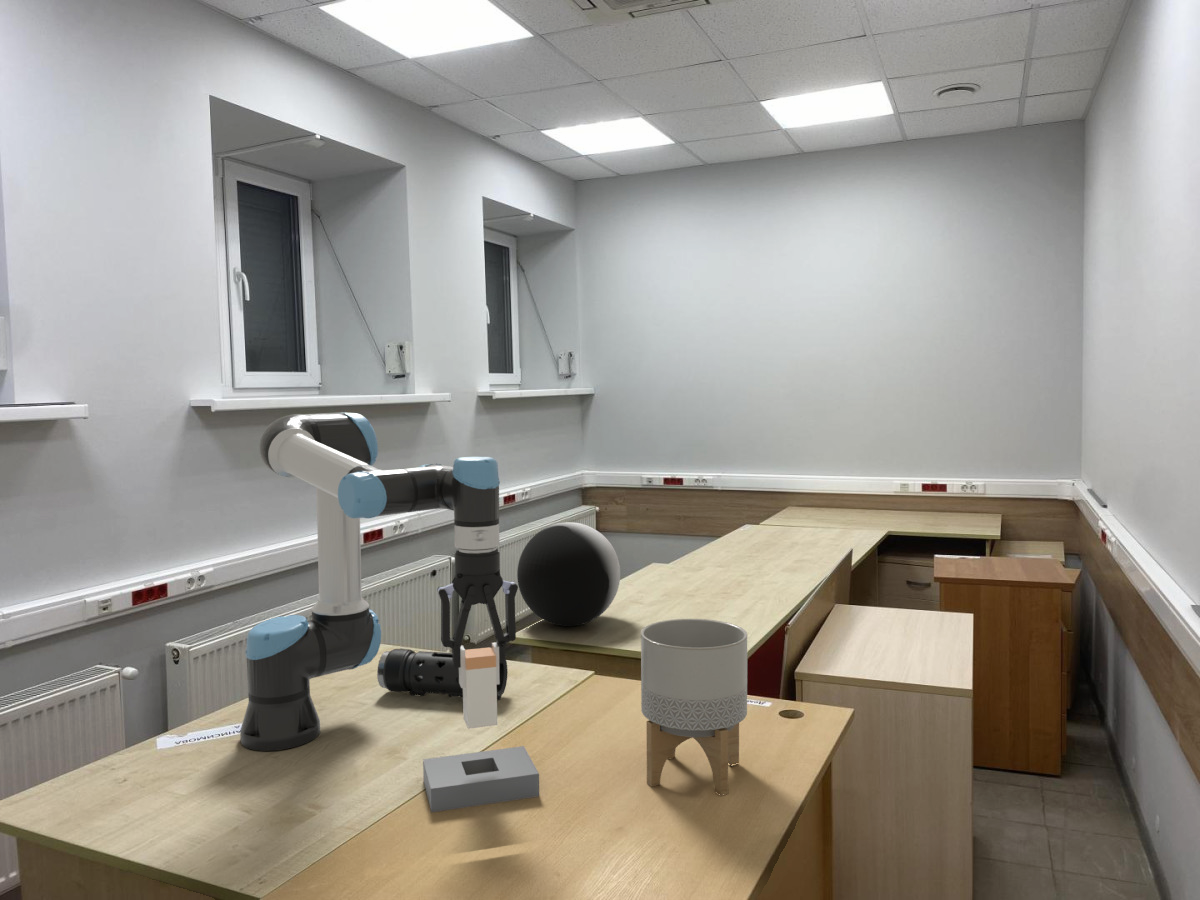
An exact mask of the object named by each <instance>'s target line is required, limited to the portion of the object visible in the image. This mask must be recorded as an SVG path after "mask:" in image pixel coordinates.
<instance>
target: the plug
mask: <svg viewBox="0 0 1200 900" xmlns="http://www.w3.org/2000/svg"><path fill="white" fill-rule="evenodd" d="M465 668H466V688H463V698H462V705H463V706H462V707H463V708H462V710H463V711H462V713H463V714H462V715H463V720H464V723H465V725H466V727H467V728H466V729H476V728H477V729H478V728H483V727H484V728H485V727H491V726H498V700H497V683H496V655H495V653H494V652H493V650H492V646H490V647H481V648H470V649H465Z"/></svg>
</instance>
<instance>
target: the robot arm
mask: <svg viewBox="0 0 1200 900" xmlns="http://www.w3.org/2000/svg"><path fill="white" fill-rule="evenodd" d="M378 445H379V444H378V438H377V434H376V432H375V430H374V427H373V425H371V423H370V421H369V420H368V418H366V417H365V416H364V415H362V414H360V413H356V412H343V411H340V412H325V413H324V412H323V413H305V414H304V413H293V414H292V413H291V414H289V415H288V414H287V415H284V416H282V417H279V418H277V419H275V420H274V421H273V422H271V423H270V424H269V425H268V426H267V427H266V428H265V429H264V431H263V433H262V434H261V437H260V440H259V446H258V447H259V449H258V450H259V454H260V458H261V459H262V462H263V463H264V464H265V466H267V468H268V469H269V470H271V471H272V472H274V473H275V474H277V475H280V476H281V477H284V478H298V479H299V480H301V481H303V482H305V483H307V484H308V485H309V484H310V485H311V486H312V487H315V488H316V522H317V523H316V526H317V563H318V565H317V567H318V569H317V570H318V601H317V602H316V603H314V605H313V606H312V607H311V619H309V620H308V619H307V617H305V616H303V615H299V614H290V615H285V616H284V615H282V616H277V617H272V618H269V619H267V620H264V621H262V622H260V623H258V624H255V626H253V627H252V628H251V629H250V630H249V631H248V632H247V635H246V648H245V658H246V670H247V671H246V673H247V690H248V691H247V693H248V695H247V697H248V702H247V706H246V710H245V714H244V717H243V720H242V723H241V727H240V731H239V732H240V733H239V734H240V735H239V736H240V744H241V746H243V747H244V748H247V749H249V750H253V751H262V752H263V751H264V752H268V751H269V752H271V751H272V752H273V751H281V750H283V751H284V750H288V749H292V748H296V747H299V746H302V745H305V744H308V743H309V742H311V741H312V740H314V739H316V738H317V737H318V736H319V735H320V734H321V733H320V732H321V719H320V716H319V715H318V712H317V709H316V707H315V704H314V702H313V699H312V696H311V691H310V690H311V689H310V688H311V686H310V681H311V680H312V679H314V678H319V677H323V676H327V675H331V674H334V673H335V674H336V673H339V672H343V671H346V670H347V671H348V670H354V669H357V668H358V667H361V666H364V665H367V664H369V663H371V662H372V660H373V659H374V658H375V657H376V656H377V654H378V652H379V651H380V648H381V647H380V646H381V641H382V628H381V623H379V621H380V619H379V617H378V615H377V614H376V613H375V611H373V609H370V604H369V602H368V601H366V600H365V599H364V598H363V597H362V595H363V594H362V556H361V555H362V552H361V551H362V550H361V549H362V548H361V544H362V543H361V519H373V518H376V517H382V516H383V517H385V516H390V515H398V514H405V513H413V512H421V511H422V512H423V511H432V510H448V511H453V515H454V516H453V517H454V520H453V522H454V524H453V525H454V547H455V548H456V549H457V550H456V551H454V578H453V580H452V582H451V583H449V584H448V585H447V584H446V585H445V586H441V585H440V586H438V587H437V594H438V596H439V598H440V641H441V644H442V645H443V647H445V648H450V649H452V650H451V651H452V652H451V653H452V663H453V665H454V667H455V668H459V684H460V686H461V688H466V668H465V650H466V649H465V647H464V645H462V643H463V640H464V636H465V630H466V627H467V624H468V623H467V622H468V618H469V614H470V611H471V610H472V606H475V605H478V604H483V605H485V606H486V610H487V612H488V615H489V616H488V617H489V619H490V624H491V627H492V630H493V634H494V637H495V641H496V642H491V649H492V650H493V652H494V653H495V655H496V683H497V684H500V679H499V664H500V663H504V662H505V658H506V645H507V644H508V643H509V642H514V641H516V637H517V635H516V631H517V629H516V628H517V627H516V598H515V597H516V595H517V591H518V590H519V586H518V584H517V583H516V582H515V581H512V580H511V581H507V580H503V577H502V576H501V575H502V574H501V571H500V570H501V564H500V563H501V562H500V561H501V558H500V557H501V554H500V553H501V552H500V550H499V549H498V547H499V546H500V482H501V481H500V477H499V476H500V475H499V465H498V461H497V459H495V458H494V457H491V456H463V457H458V458H455V460H454V461H453V466H450V465H444V464H441V463H434V464H433V463H430V464H428V463H427V464H422V465H420V466H418V467H408V468H406V467H405V468H396V469H395V468H394V469H380V468H377V467H375V466H373V465H374V464H375V463H376V461H377V458H378V454H379V453H378V452H379V446H378ZM501 588H502V592H503V593H504V599H505V601H504V603H505V605H504V606H505V608H504V609H505V633H504V631H503V628H502V624H501V620H500V617H499V614H498V610H497V606H496V601H495V597H496V595H497V594H498V592H499V591H500V589H501ZM454 591H455V592H456V593H457V594H458V596H459V597H460V598H461V600H460V604H459V606H460V607H459V610H458V615H457V619H456V624H455V628H454V632H453V637H452V638H451V603H450V599H452V597H453V592H454Z"/></svg>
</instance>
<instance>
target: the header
mask: <svg viewBox="0 0 1200 900" xmlns="http://www.w3.org/2000/svg"><path fill="white" fill-rule="evenodd" d="M422 770H423V771H422V772H423V773H422V774H423V775H422V776H423V785H424V789H425V792H426V796H427V800H428V804H429V805H428V806H429V808H430V812H431V813H435V812H443V811H450V810H455V809H456V810H457V809H463V808H470V807H476V806H483V805H490V804H497V803H501V802H502V803H505V802H510V801H515V800H516V801H517V800H524V799H531V798H535V797H537V798H538V797H540V773H539V771H538V769H537V767H536V765H535V764H534V762H533V760H532V758H531V756H530V755H529V753H528V751H527V749H526V748H525V746H524V745H522V746H515V747H507V748H498V749H490V750H484V751H476V752H469V753H468V752H467V753H460V754H459V753H458V754H453V755H446V756H445V755H444V756H437V757H431V758H422Z"/></svg>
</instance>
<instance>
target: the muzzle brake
mask: <svg viewBox="0 0 1200 900" xmlns="http://www.w3.org/2000/svg"><path fill="white" fill-rule="evenodd" d="M376 673H377V674H376V676H377V677H376V678H377V683H378V685H379V686H380V688H384V689H387V691H390V692H395V693H397V692H398V693H408V694H409V695H410V696H415V695H420V697H424V696H425V695H427V694H433V695H434V694H436V695H447V696H448V697H449V698H451V697H459V698H460V699H463V688H461V686H460V684H459V668H455V667H454V665H453V663H452V652H444V651H442V652H441V651H424V650H423V651H417V652H416V651H415V650H414V649H410V648H393V649H392V650H385V651H383V653H382V654H381V656H380V658H379V661H378V665H377V672H376ZM499 679H500V684H497V701H499V700H500V699H501V698H502V696H503V694H504V692H505V690H506V688H507V687H506V686H507V682H508V662H507V658H506V657H505V662H504V663H500V664H499Z"/></svg>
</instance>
